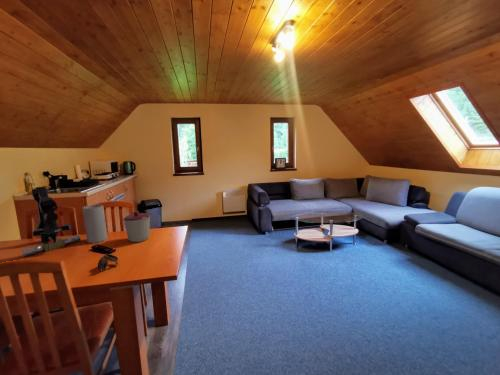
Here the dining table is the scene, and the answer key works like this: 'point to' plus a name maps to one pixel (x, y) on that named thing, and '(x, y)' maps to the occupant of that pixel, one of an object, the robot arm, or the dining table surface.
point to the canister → (137, 226)
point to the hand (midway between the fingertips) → (55, 242)
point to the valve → (50, 245)
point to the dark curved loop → (104, 262)
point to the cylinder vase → (95, 223)
